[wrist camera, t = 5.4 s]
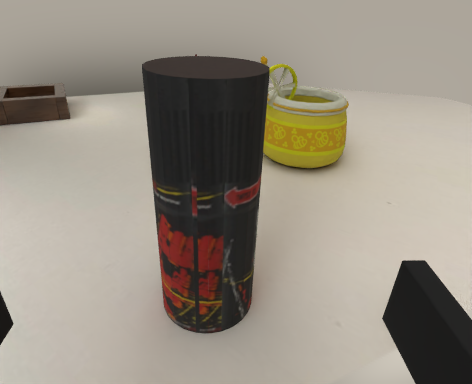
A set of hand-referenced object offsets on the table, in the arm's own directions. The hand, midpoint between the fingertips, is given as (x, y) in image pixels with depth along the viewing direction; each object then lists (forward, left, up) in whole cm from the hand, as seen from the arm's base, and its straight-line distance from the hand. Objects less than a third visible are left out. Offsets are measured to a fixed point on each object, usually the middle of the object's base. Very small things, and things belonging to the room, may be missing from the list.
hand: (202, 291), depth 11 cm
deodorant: (-2, +9, -9) cm, 13 cm away
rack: (-38, +44, -9) cm, 58 cm away
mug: (+4, +35, -9) cm, 36 cm away
